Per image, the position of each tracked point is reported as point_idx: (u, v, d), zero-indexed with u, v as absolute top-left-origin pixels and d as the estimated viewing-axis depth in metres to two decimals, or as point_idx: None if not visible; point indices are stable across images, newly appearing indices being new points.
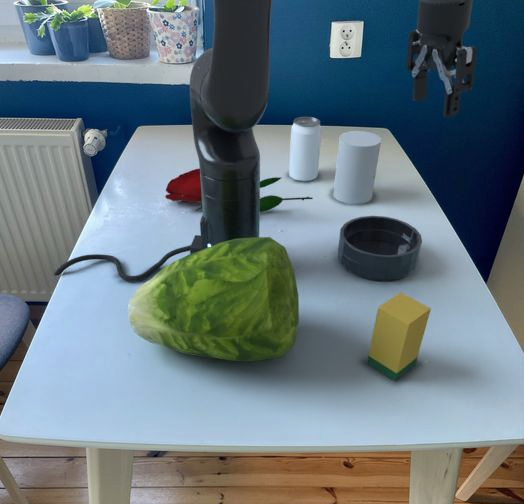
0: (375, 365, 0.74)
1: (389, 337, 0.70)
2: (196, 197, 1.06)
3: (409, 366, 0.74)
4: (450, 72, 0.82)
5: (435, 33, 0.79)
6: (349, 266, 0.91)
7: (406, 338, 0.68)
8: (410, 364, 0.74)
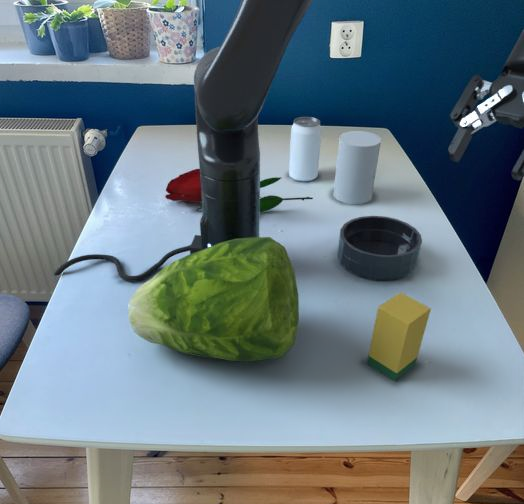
0: (375, 365, 0.74)
1: (389, 337, 0.70)
2: (196, 197, 1.06)
3: (409, 366, 0.74)
4: None
5: None
6: (349, 266, 0.91)
7: (406, 338, 0.68)
8: (410, 364, 0.74)
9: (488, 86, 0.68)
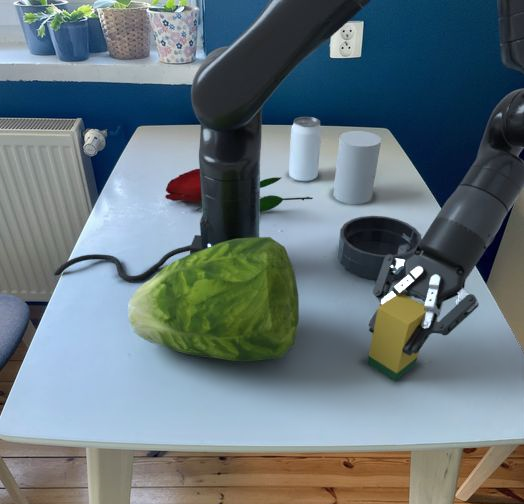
0: (375, 365, 0.74)
1: (389, 337, 0.70)
2: (196, 197, 1.06)
3: (409, 366, 0.74)
4: (436, 308, 0.68)
5: (455, 258, 0.66)
6: (349, 266, 0.91)
7: (406, 338, 0.68)
8: (410, 364, 0.74)
9: (402, 263, 0.72)
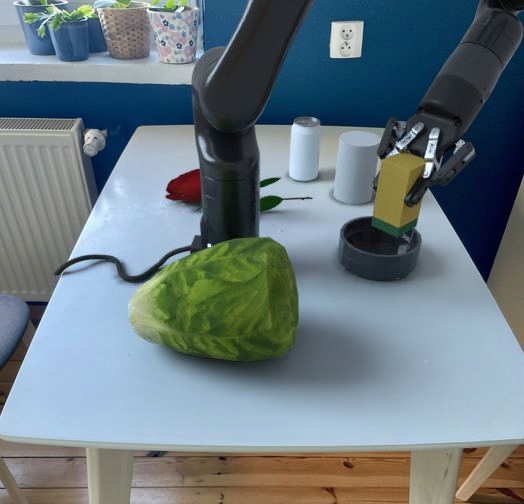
0: (379, 225, 0.79)
1: (392, 189, 0.75)
2: (196, 197, 1.06)
3: (410, 225, 0.79)
4: (435, 160, 0.73)
5: (453, 108, 0.71)
6: (349, 266, 0.91)
7: (407, 188, 0.73)
8: (411, 223, 0.79)
9: (404, 125, 0.77)
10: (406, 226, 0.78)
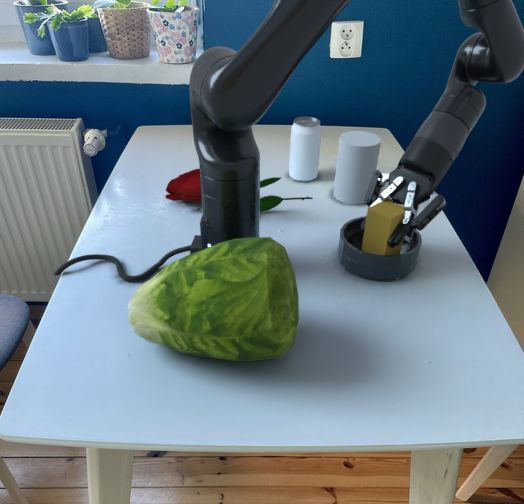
0: None
1: (377, 232, 0.88)
2: (196, 197, 1.06)
3: None
4: (413, 208, 0.87)
5: (427, 166, 0.84)
6: (349, 266, 0.91)
7: (389, 232, 0.86)
8: None
9: (387, 176, 0.90)
10: None
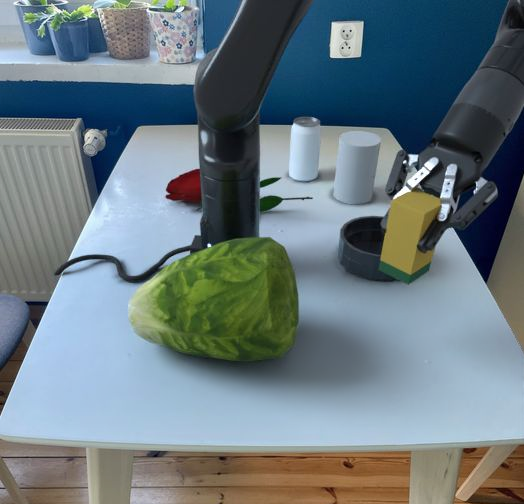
0: (387, 270, 0.70)
1: (403, 233, 0.66)
2: (196, 197, 1.06)
3: (423, 270, 0.70)
4: (452, 200, 0.64)
5: (473, 143, 0.62)
6: (349, 266, 0.91)
7: (421, 232, 0.64)
8: (424, 268, 0.70)
9: (415, 158, 0.68)
10: (418, 272, 0.69)
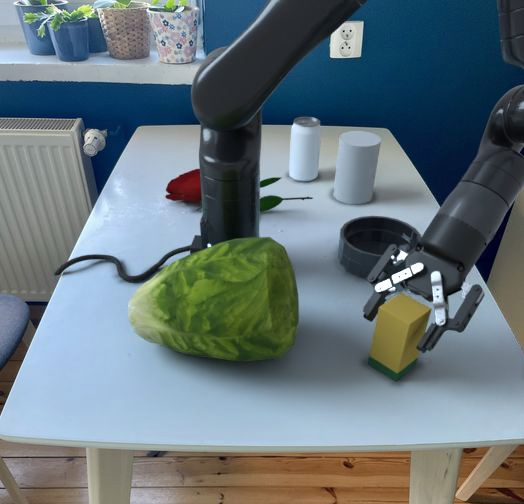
0: (376, 365, 0.74)
1: (390, 337, 0.70)
2: (196, 197, 1.06)
3: (410, 366, 0.74)
4: (445, 303, 0.67)
5: (455, 254, 0.66)
6: (349, 266, 0.91)
7: (407, 339, 0.68)
8: (411, 364, 0.74)
9: (403, 256, 0.72)
10: (405, 369, 0.73)
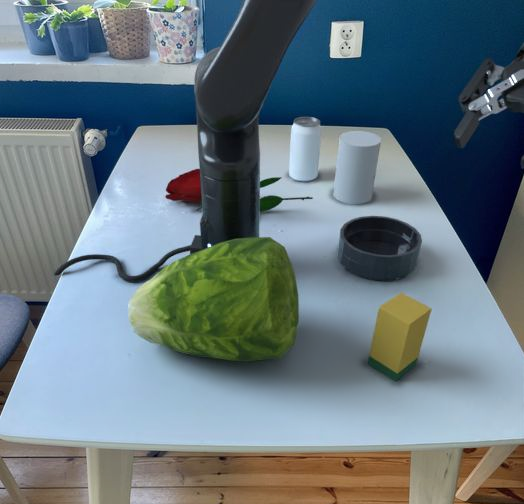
0: (376, 365, 0.74)
1: (390, 337, 0.70)
2: (196, 197, 1.06)
3: (410, 366, 0.74)
4: None
5: None
6: (349, 266, 0.91)
7: (407, 339, 0.68)
8: (411, 364, 0.74)
9: (500, 71, 0.65)
10: (405, 369, 0.73)
